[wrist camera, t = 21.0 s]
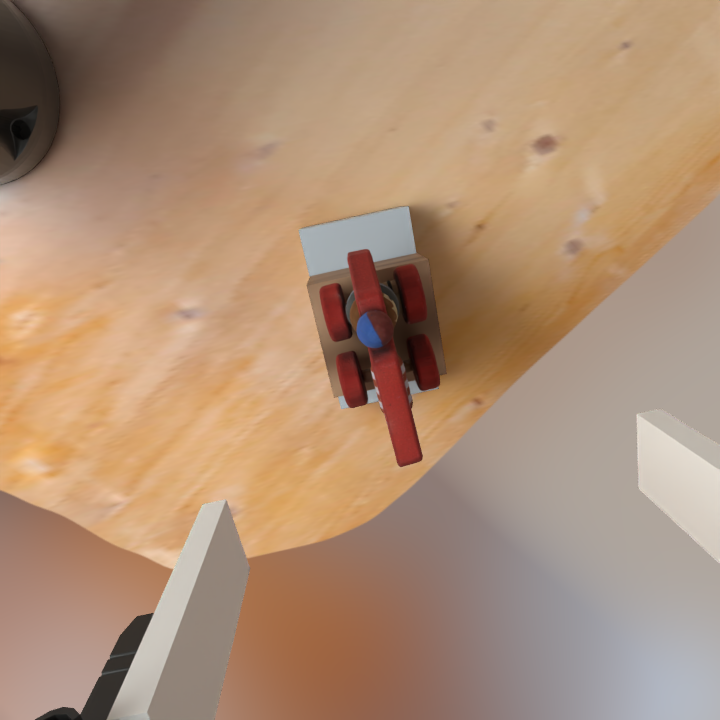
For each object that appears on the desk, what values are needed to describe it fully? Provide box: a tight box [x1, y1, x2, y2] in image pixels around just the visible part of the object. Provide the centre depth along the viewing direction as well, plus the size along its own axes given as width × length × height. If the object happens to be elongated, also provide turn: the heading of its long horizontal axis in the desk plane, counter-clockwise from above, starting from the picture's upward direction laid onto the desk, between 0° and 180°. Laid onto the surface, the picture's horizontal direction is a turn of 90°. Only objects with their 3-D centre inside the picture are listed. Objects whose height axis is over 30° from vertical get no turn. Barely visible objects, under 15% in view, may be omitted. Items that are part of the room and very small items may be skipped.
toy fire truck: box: [319, 249, 440, 467], centre depth 31 cm, size 7×12×10 cm, turn 13°
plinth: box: [299, 206, 439, 409], centre depth 42 cm, size 16×9×4 cm, turn 12°
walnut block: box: [307, 253, 447, 398], centre depth 38 cm, size 9×9×5 cm
